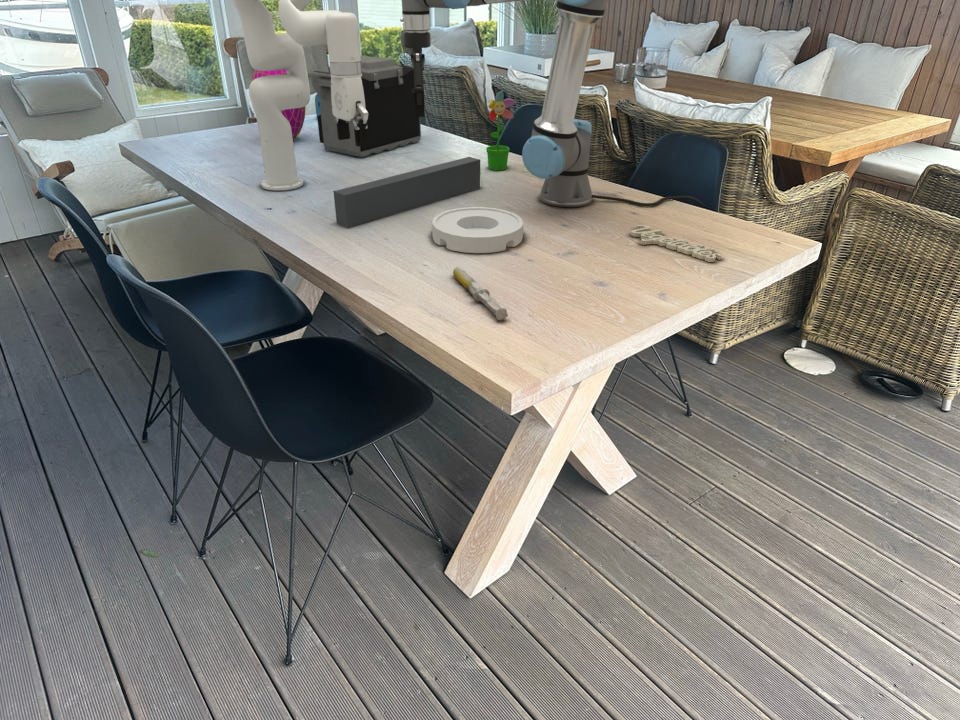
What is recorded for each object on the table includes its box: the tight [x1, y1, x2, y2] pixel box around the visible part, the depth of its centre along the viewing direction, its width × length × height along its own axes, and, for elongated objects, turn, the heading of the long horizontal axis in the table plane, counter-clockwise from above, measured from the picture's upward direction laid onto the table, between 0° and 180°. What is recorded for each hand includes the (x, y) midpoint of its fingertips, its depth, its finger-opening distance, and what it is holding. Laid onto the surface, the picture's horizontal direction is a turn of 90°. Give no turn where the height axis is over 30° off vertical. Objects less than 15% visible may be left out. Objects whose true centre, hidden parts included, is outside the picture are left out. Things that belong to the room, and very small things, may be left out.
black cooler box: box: [310, 55, 422, 159], centre depth 250 cm, size 37×22×30 cm, turn 144°
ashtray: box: [431, 206, 524, 254], centre depth 175 cm, size 23×23×4 cm
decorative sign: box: [630, 224, 722, 263], centre depth 172 cm, size 26×1×10 cm
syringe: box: [452, 266, 509, 321], centre depth 145 cm, size 25×4×3 cm, turn 21°
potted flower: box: [486, 90, 517, 171], centre depth 227 cm, size 9×8×25 cm
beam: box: [333, 156, 481, 229], centre depth 196 cm, size 51×5×9 cm, turn 137°
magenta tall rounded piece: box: [251, 69, 307, 139], centre depth 257 cm, size 19×19×30 cm
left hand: (352, 142), depth 174 cm, fingers open, 9 cm apart
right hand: (420, 112), depth 199 cm, fingers open, 13 cm apart
